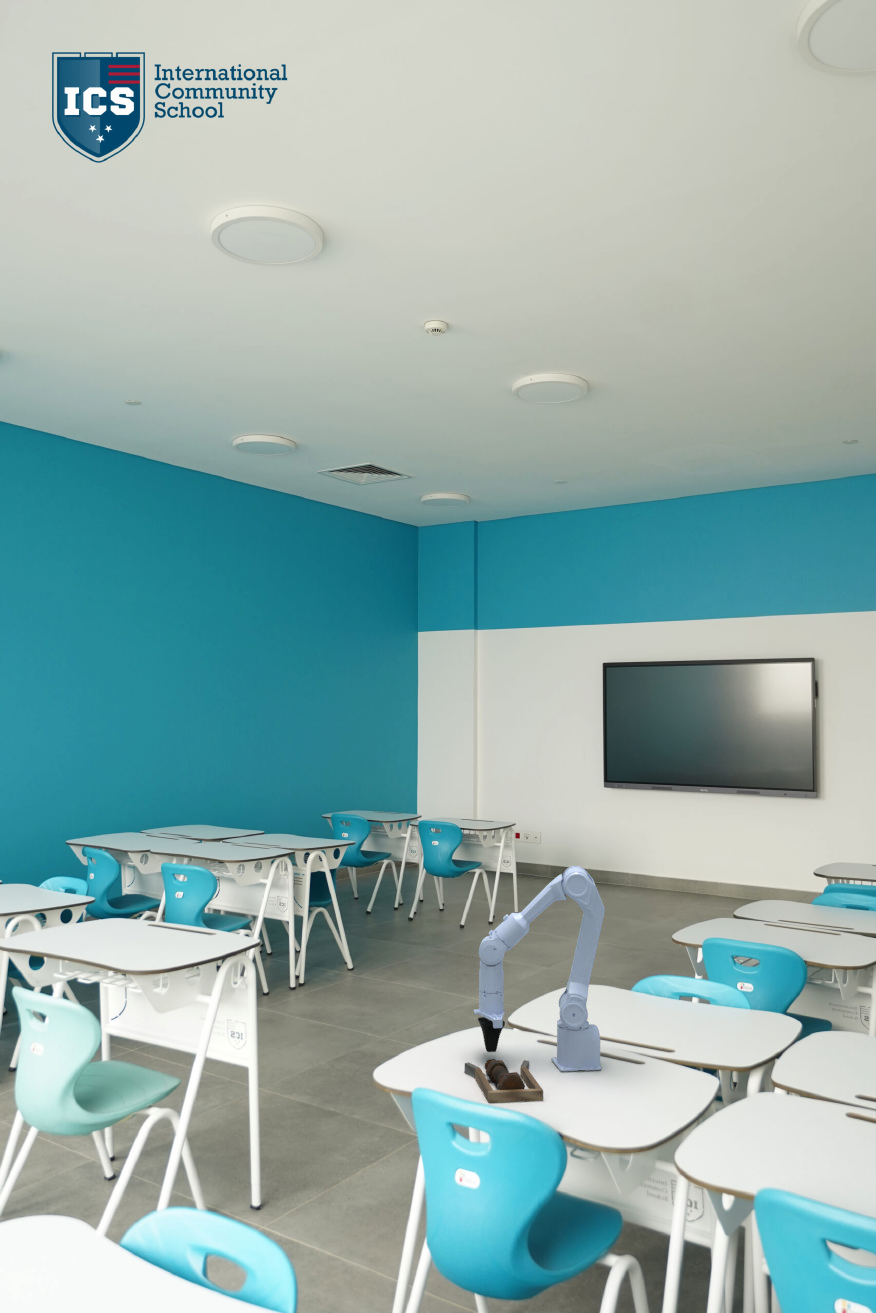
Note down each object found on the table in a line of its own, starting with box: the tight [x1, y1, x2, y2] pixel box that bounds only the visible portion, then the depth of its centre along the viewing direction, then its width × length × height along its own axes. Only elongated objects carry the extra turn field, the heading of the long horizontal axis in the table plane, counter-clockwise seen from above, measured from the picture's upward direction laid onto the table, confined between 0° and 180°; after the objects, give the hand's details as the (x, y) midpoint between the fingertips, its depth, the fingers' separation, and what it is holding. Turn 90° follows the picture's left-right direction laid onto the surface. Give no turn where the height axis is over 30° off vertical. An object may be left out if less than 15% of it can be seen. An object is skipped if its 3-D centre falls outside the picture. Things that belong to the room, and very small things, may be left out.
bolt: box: [484, 1058, 526, 1090], centre depth 202 cm, size 6×5×15 cm
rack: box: [464, 1059, 544, 1104], centre depth 203 cm, size 15×18×2 cm
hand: (491, 1051), depth 218 cm, fingers closed
